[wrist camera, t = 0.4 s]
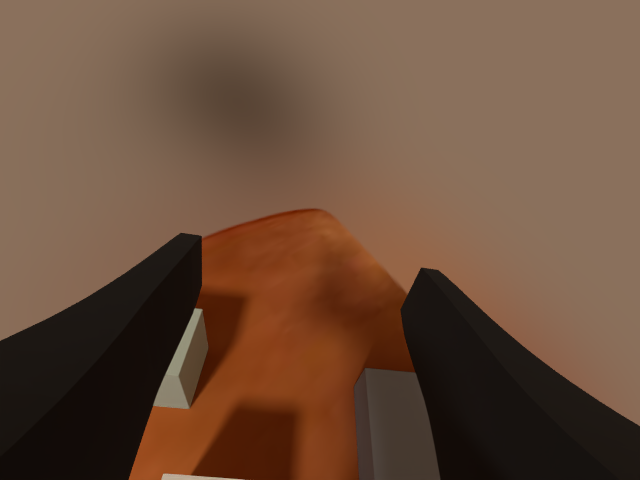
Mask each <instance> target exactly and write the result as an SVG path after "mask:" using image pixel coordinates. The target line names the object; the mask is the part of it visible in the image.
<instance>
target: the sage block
mask: <svg viewBox="0 0 640 480" xmlns="http://www.w3.org/2000/svg"><path fill="white" fill-rule="evenodd" d="M208 348H209V347H208V341H207V335H206V329H205V323H204V317H203V310H202V309H196V308H195V309H194V312H193V315H192V317H191V319H190V321H189V324H188V326H187V328H186V330H185V333H184V335H183V337H182V339H181V341H180V344H179V346H178V348H177V350H176V352H175V354H174V357H173V359H172V361H171V363H170V365H169V368H168V370H167V372H166V374H165V376H164V379H163V381H162V383H161V386H160V388H159V391H158V393H157V396H156V399H155V401H154V404H153V406H162V407H173V408H184V409H190V406H191V403H192V399H193V396H194V393H195V390H196V387H197V383H198V380H199V377H200V374H201V371H202V367H203V364H204V361H205V358H206V354H207V351H208Z"/></svg>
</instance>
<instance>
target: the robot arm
mask: <svg viewBox="0 0 640 480" xmlns="http://www.w3.org/2000/svg"><path fill="white" fill-rule="evenodd" d="M201 286H202V236H199V235H192V234H185V233H180V234H179V235H177V236H176V237H174V238H173V239H172V240H170V241H169V242H168V243H166V244H165V245H164V246H162V247H161V248H160V249H158V250H157V251H155V252H154V253H153V254H151V255H150V256H149V257H147V258H146V259H145V260H143V261H142V262H140V263H139V264H138V265H136V266H135V267H133V268H132V269H130V270H129V271H127V272H126V273H125V274H123V275H122V276H120V277H118V278H117V279H115V280H114V281H113V282H111V283H109V284H108V285H106V286H104V287H103V288H101V289H100V290H98V291H97V292H95V293H93V294H92V295H90V296H88V297H87V298H85V299H83V300H81V301H80V302H78V303H76V304H74V305H72V306H71V307H69V308H67V309H65V310H63V311H61V312H59V313H57V314H55V315H54V316H52V317H50V318H48V319H46V320H44V321H42V322H40V323H37V324H35V325H33V326H31V327H29V328H27V329H25V330H23V331H20V332H18V333H16V334H14V335H12V336H10V337H8V338H6V339H3V340H1V341H0V480H128V479H129V476H130V473H131V470H132V467H133V464H134V461H135V458H136V455H137V452H138V449H139V446H140V443H141V439H142V436H143V433H144V430H145V427H146V425H147V422H148V419H149V416H150V413H151V410H152V407H153V404H154V401H155V399H156V396H157V393H158V391H159V388H160V386H161V383H162V381H163V379H164V376H165V374H166V372H167V370H168V368H169V365H170V363H171V361H172V359H173V357H174V354H175V352H176V350H177V348H178V346H179V344H180V341H181V339H182V337H183V335H184V333H185V330H186V328H187V326H188V324H189V321H190V319H191V317H192V315H193V312H194V309H195V306H196V303H197V300H198V296H199V293H200V290H201ZM401 317H402V324H403V329H404V335H405V339H406V343H407V346H408V349H409V353H410V356H411V359H412V363H413V366H414V369H415V372H416V375H417V379H418V382H419V385H420V388H421V392H422V395H423V398H424V401H425V405H426V409H427V413H428V417H429V421H430V426H431V431H432V436H433V441H434V446H435V451H436V457H437V463H438V468H439V474H440V480H640V426H638V425H637V424H635V423H634V422H632V421H630V420H629V419H627V418H625V417H624V416H622V415H620V414H619V413H617V412H615V411H614V410H612V409H611V408H609V407H608V406H606V405H604V404H603V403H601V402H599V401H598V400H597V399H595V398H594V397H592V396H591V395H589V394H588V393H586V392H585V391H583V390H582V389H580V388H579V387H577V386H576V385H574V384H573V383H571V382H570V381H569V380H567V379H566V378H564V377H563V376H562V375H560V374H559V373H557V372H556V371H555V370H553V369H552V368H550V367H549V366H548V365H547V364H545V363H544V362H543V361H541V360H540V359H539V358H537V357H536V356H535V355H534V354H532V353H531V352H530V351H528V350H527V349H526V348H525V347H523V346H522V345H521V344H520V343H519V342H517V341H516V340H515V339H514V338H513V337H512V336H510V335H509V334H508V333H507V332H506V331H504V330H503V329H502V328H501V327H500V326H499V325H498V324H497V323H495V322H494V321H493V320H492V319H491V318H490V317H489V316H488V315H487V314H486V313H484V312H483V311H482V310H481V309H480V308H479V307H478V306H477V305H476V304H475V303H474V302H473V301H472V300H471V299H469V298H468V297H467V296H466V295H465V294H464V293H463V292H462V291H461V290H460V289H459V288H458V287H457V286H456V285H455V284H453V283H452V282H451V281H450V280H449V279H448V278H447V277H446V276H445V275H444V274H442V273H441V272H440V271H439V270H434V269H427V268H421V269H420V271H419V273H418V275H417V277H416V279H415V281H414V283H413V285H412V287H411V289H410V291H409V293H408V295H407V297H406V299H405V301H404V304H403V306H402V308H401Z"/></svg>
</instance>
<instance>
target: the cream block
mask: <svg viewBox="0 0 640 480" xmlns="http://www.w3.org/2000/svg"><path fill="white" fill-rule="evenodd" d="M162 480H243V479H229V478H216V477H203V476H189V475H176V474H163V477H162Z"/></svg>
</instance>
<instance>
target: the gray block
mask: <svg viewBox="0 0 640 480" xmlns="http://www.w3.org/2000/svg"><path fill="white" fill-rule="evenodd" d="M354 398H355V415H356V433H357V450H358V468H359V480H440V474H439V468H438V463H437V457H436V451H435V446H434V441H433V436H432V431H431V426H430V421H429V417H428V413H427V409H426V405H425V401H424V398H423V395H422V392H421V388H420V385H419V382H418V379H417V375H416V373H413V372H403V371H392V370H382V369H371V368H365V369H364V371H363V372H362V374H361V376H360V377H359V379H358V381H357V382H356V384H355V386H354Z"/></svg>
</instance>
